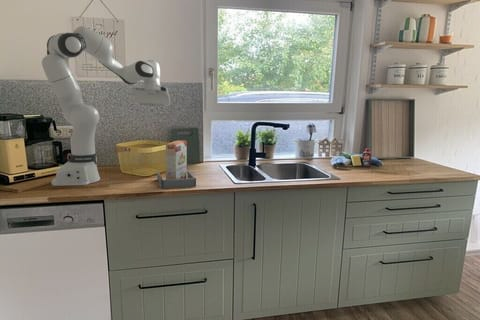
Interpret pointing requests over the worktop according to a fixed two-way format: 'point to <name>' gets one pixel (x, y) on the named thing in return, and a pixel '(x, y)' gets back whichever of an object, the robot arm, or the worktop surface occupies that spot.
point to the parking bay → (177, 181)
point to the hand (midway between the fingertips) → (151, 112)
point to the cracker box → (176, 160)
